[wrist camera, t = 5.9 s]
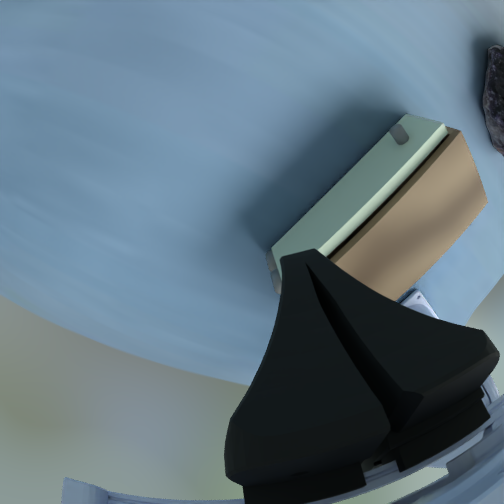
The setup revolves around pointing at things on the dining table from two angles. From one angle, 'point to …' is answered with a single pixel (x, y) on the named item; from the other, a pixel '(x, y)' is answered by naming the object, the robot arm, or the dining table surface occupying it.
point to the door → (359, 191)
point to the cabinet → (415, 221)
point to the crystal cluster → (495, 96)
